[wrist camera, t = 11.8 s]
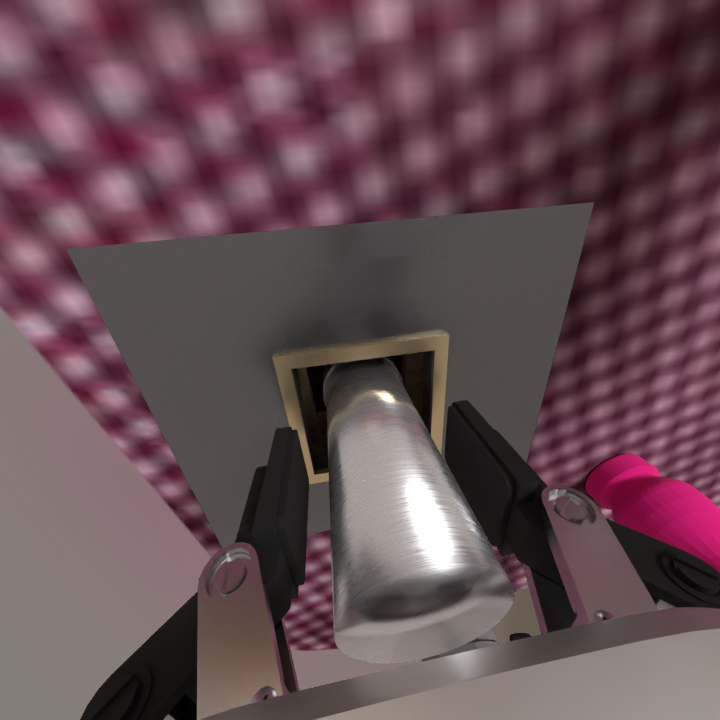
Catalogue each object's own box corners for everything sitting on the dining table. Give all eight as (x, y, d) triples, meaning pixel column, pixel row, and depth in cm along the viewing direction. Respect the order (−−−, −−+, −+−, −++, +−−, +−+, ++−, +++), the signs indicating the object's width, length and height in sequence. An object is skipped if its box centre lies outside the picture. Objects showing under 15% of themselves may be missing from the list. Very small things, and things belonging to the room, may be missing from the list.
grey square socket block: (492, 214, 16) (602, 201, 9) (466, 428, 23) (520, 499, 16) (171, 243, 14) (57, 249, 8) (250, 462, 21) (221, 555, 15)
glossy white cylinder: (349, 313, 17) (431, 535, 4) (396, 350, 19) (556, 592, 6) (309, 362, 18) (284, 652, 5) (357, 393, 20) (423, 674, 7)
